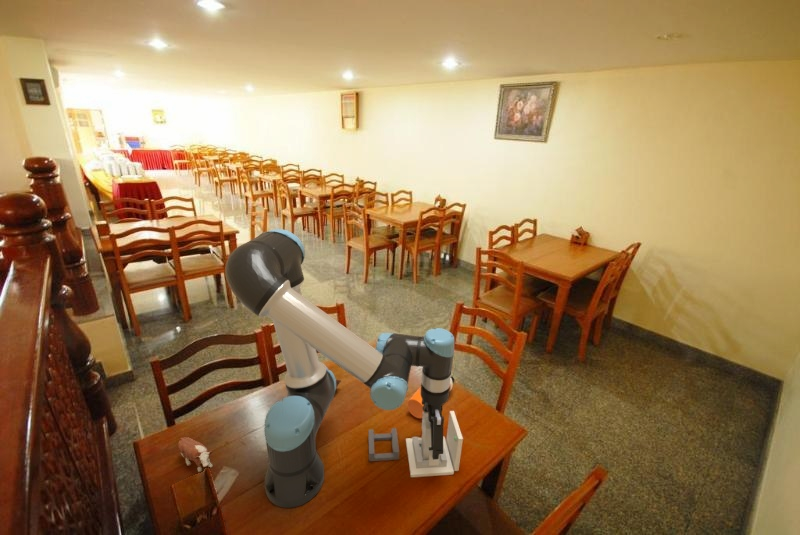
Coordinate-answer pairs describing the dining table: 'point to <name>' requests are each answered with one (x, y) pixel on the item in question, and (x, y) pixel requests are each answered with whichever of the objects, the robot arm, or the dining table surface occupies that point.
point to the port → (445, 465)
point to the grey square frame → (388, 436)
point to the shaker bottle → (420, 402)
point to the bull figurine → (194, 452)
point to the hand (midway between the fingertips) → (429, 445)
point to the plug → (426, 438)
